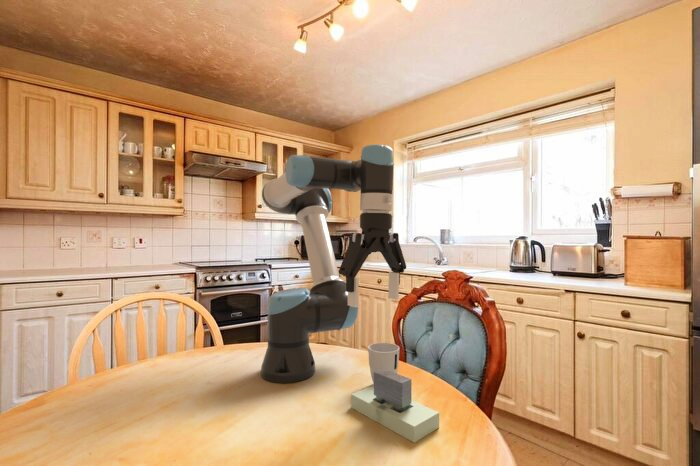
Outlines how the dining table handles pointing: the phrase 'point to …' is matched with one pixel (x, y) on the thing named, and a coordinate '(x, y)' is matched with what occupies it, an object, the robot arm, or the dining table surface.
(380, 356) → the cup
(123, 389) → the dining table surface
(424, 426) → the block with rectangular hole
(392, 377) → the grey foam block
